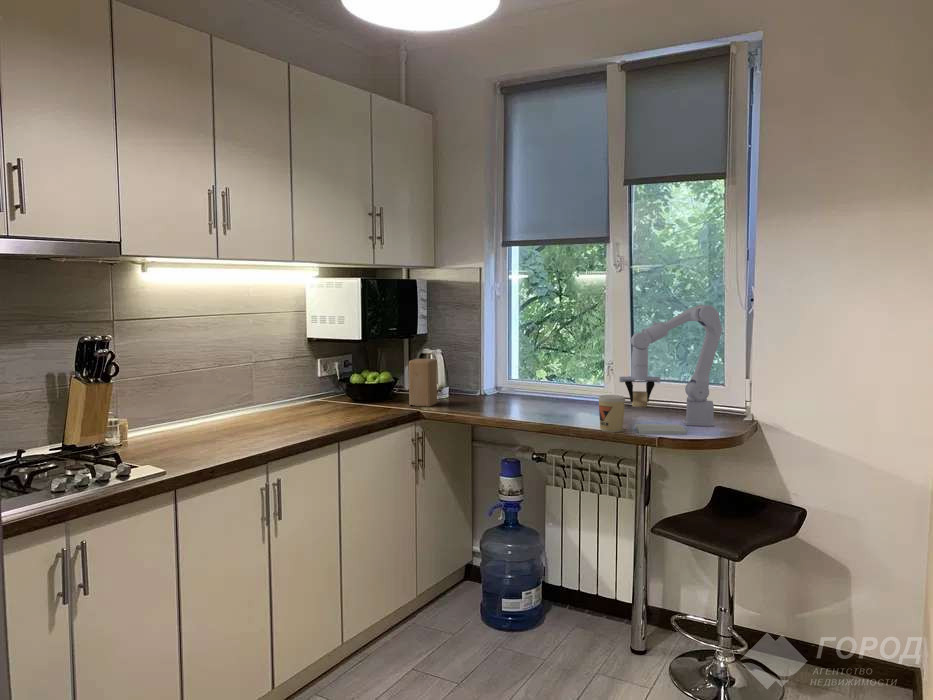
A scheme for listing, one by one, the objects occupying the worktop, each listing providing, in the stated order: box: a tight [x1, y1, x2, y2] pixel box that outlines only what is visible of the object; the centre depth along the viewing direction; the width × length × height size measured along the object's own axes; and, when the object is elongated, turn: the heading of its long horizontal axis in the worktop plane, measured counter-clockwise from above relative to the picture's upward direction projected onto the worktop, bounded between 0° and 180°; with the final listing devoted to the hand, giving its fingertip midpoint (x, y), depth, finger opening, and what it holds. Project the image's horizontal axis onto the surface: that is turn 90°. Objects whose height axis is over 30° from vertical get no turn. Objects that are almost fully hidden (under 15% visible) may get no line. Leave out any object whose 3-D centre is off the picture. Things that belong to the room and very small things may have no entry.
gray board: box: [634, 423, 688, 435], centre depth 254 cm, size 16×12×1 cm
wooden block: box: [408, 358, 438, 408], centre depth 313 cm, size 10×10×20 cm
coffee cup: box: [597, 394, 626, 433], centre depth 256 cm, size 9×9×12 cm
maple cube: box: [631, 390, 648, 408], centre depth 266 cm, size 5×5×5 cm
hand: (639, 401), depth 266 cm, fingers closed on maple cube, 5 cm apart
